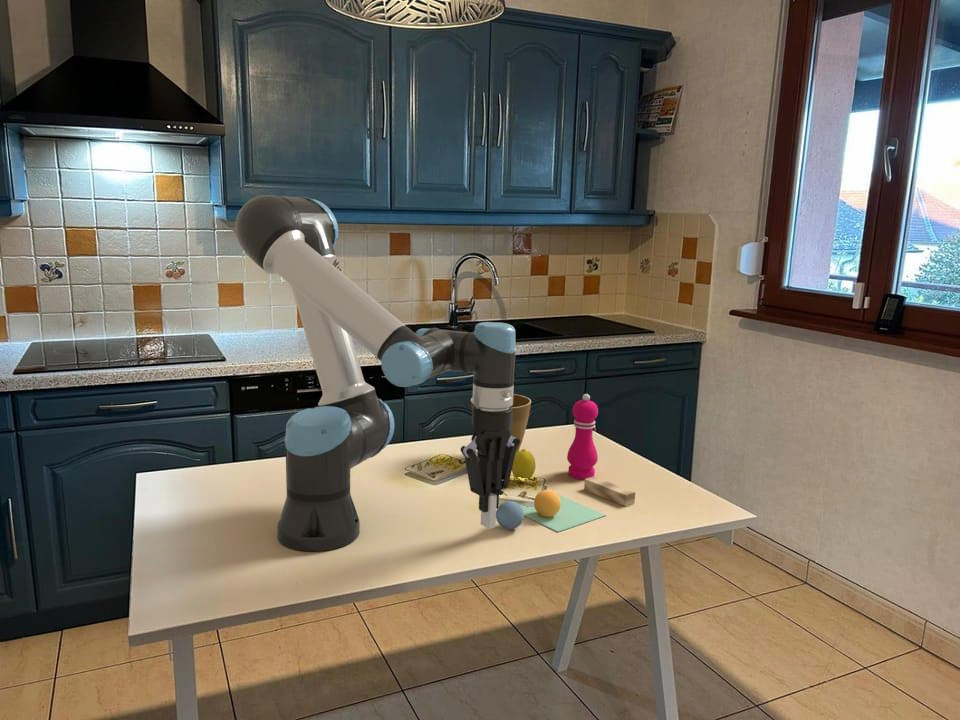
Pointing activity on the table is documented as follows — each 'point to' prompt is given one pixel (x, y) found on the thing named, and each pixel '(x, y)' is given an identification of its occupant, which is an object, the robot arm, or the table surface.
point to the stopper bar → (609, 491)
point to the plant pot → (518, 416)
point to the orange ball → (547, 503)
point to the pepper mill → (583, 440)
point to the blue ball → (509, 515)
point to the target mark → (564, 515)
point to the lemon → (523, 464)
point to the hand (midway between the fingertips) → (488, 525)
